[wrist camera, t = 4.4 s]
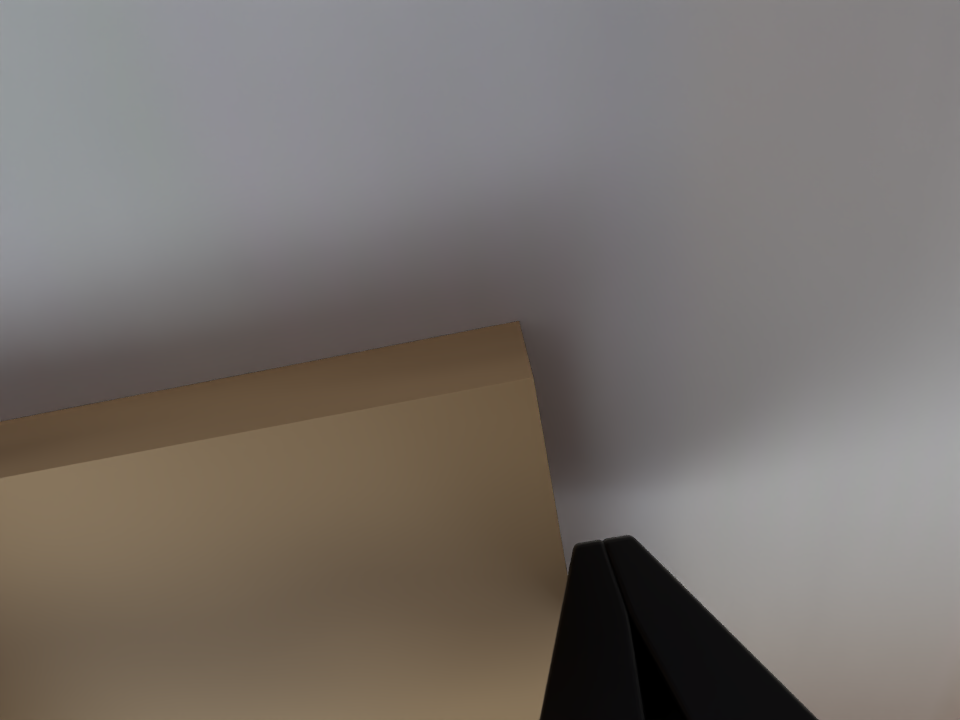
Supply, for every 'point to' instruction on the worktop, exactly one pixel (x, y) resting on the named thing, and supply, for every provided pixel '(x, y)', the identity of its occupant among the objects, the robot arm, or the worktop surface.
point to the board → (287, 544)
